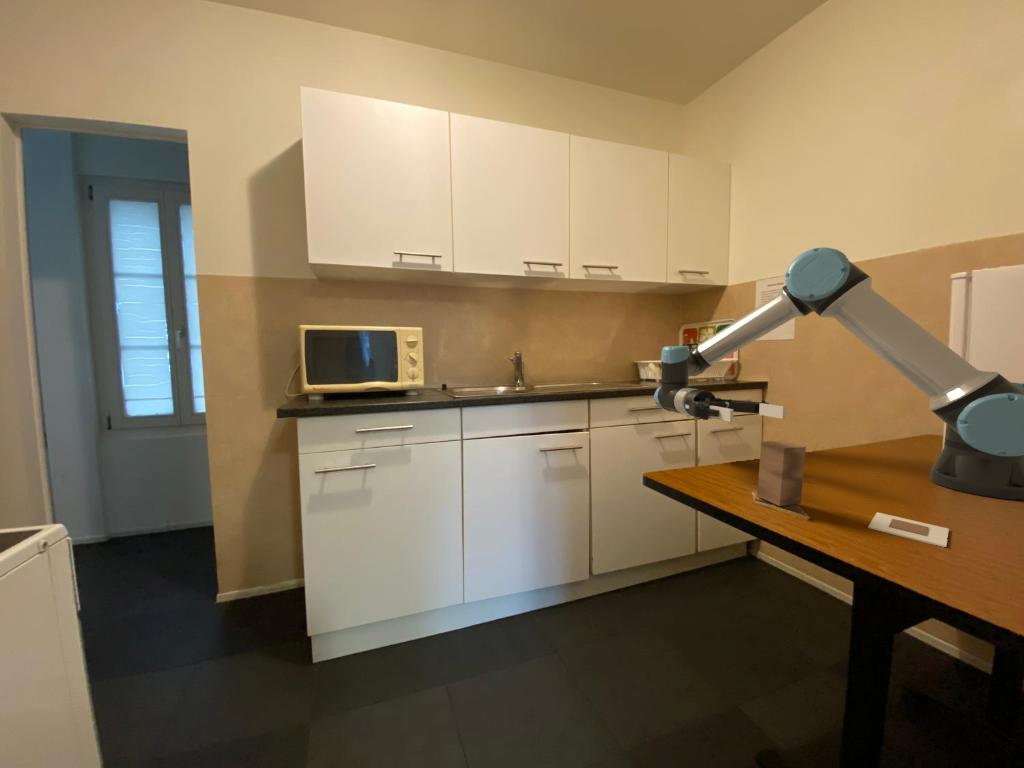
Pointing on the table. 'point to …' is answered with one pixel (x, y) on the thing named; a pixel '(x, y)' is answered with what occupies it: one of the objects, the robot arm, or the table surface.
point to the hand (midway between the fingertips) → (758, 414)
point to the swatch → (910, 529)
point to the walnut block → (781, 472)
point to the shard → (781, 507)
